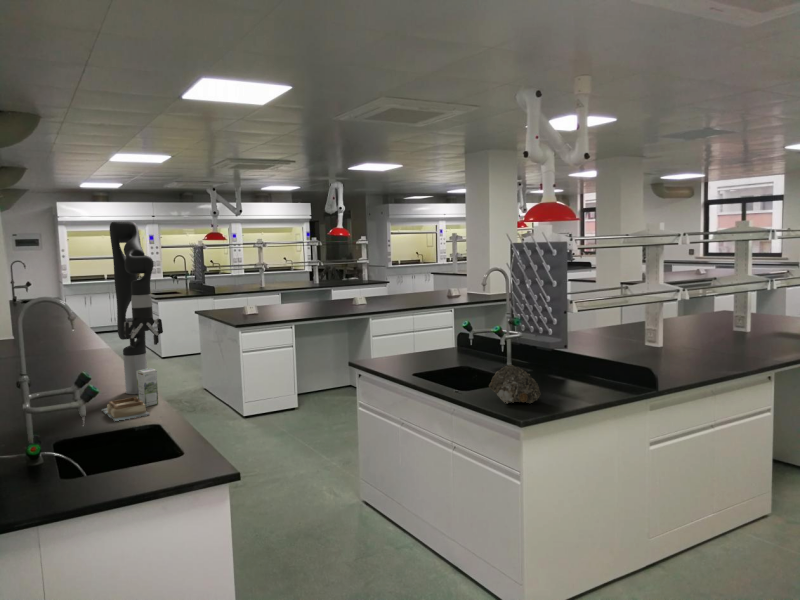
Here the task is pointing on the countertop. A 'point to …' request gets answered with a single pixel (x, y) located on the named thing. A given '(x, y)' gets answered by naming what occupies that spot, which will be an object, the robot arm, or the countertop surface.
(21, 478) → the countertop surface
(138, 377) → the syrup box
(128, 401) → the build plinth
